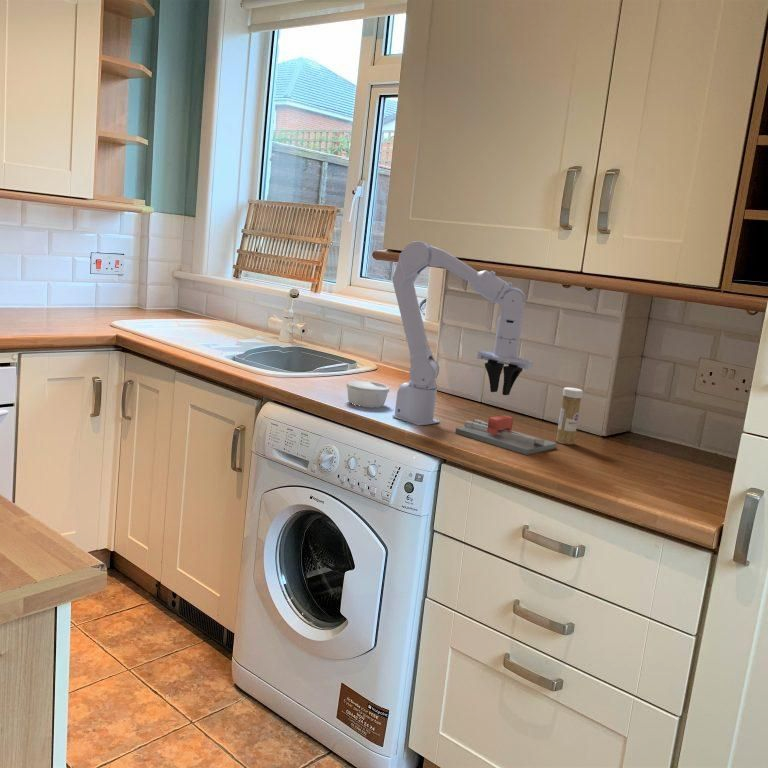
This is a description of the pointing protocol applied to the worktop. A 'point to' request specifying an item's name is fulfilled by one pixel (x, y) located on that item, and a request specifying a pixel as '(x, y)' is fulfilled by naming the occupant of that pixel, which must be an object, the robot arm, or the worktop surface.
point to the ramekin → (367, 393)
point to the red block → (499, 424)
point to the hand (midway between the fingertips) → (499, 393)
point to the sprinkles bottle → (569, 415)
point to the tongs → (505, 433)
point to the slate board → (505, 441)
